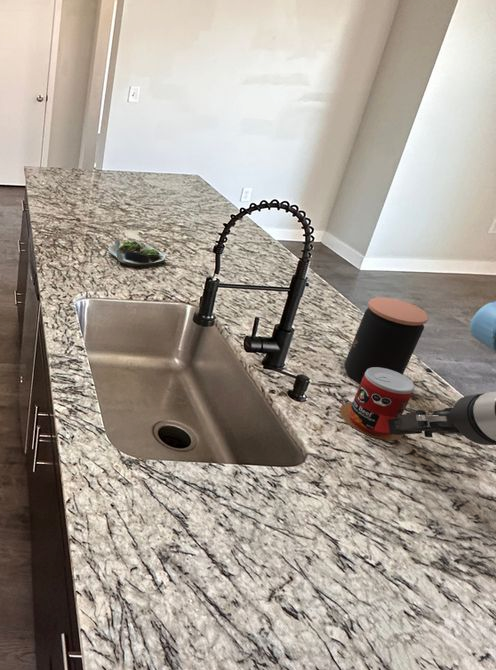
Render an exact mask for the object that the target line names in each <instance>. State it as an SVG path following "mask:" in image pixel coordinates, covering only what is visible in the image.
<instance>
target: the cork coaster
mask: <svg viewBox="0 0 496 670" xmlns="http://www.w3.org/2000/svg"><path fill="white" fill-rule="evenodd" d="M352 403H353V402H347V403H344V404H343V405H342V406H341V407H340V410H339V413H340V416H341V418H342V419H343V420H344V422H346V423H347V424H348V425H349V426H350V427H351V428H353V429H355V431H358V432H359V433H361V434H363V435H365V436H368V437H371V438H374V439H377V440H382V441H397V440H400V439H402V438H403V437H404V435H394V434H388V435H379V434H374V433H371V432H368V431H366V430H363V429H362V428H360V427H358V426H357V425H356V424H354V423H353V422H352V420H351V419H350V417H349V410H350V408H351V405H352Z"/></svg>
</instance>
